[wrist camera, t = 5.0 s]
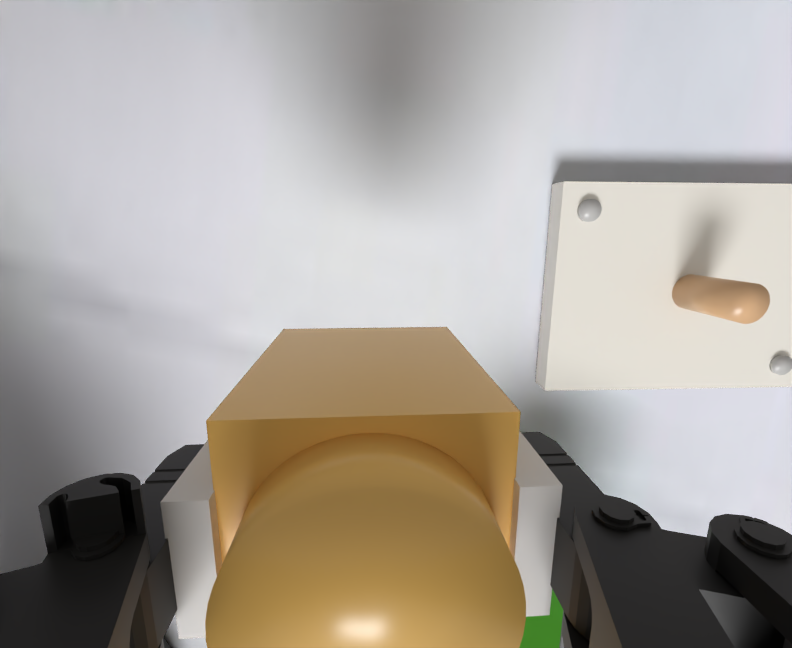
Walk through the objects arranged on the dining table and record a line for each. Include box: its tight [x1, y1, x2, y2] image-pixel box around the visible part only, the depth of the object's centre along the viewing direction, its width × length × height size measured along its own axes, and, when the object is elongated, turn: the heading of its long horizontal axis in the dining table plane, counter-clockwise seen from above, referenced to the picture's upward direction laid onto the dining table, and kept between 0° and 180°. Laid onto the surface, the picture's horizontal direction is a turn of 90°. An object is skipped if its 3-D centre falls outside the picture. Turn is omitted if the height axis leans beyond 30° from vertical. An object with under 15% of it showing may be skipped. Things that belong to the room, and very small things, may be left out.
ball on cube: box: [205, 327, 526, 648], centre depth 10 cm, size 5×5×8 cm
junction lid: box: [535, 181, 792, 391], centre depth 23 cm, size 16×12×6 cm
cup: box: [519, 589, 563, 648], centre depth 24 cm, size 9×9×11 cm
